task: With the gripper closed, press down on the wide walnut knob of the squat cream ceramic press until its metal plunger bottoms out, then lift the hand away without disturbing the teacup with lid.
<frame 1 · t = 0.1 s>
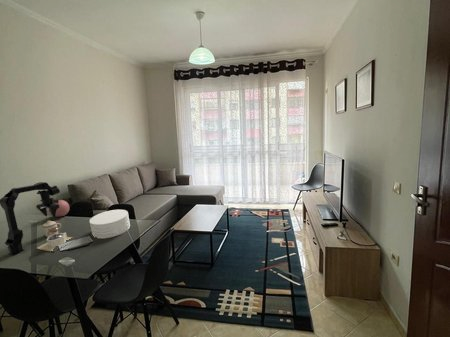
hand: (50, 216, 202), 15 cm above the table, fingers open, 9 cm apart
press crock: (57, 244, 187), on the table
teacup with lid: (54, 233, 205), on the table
balloon: (59, 217, 240), on the table
plate stack: (111, 230, 204), on the table
plunger: (54, 233, 185), point 9 cm above the table, slide at 0.0 cm
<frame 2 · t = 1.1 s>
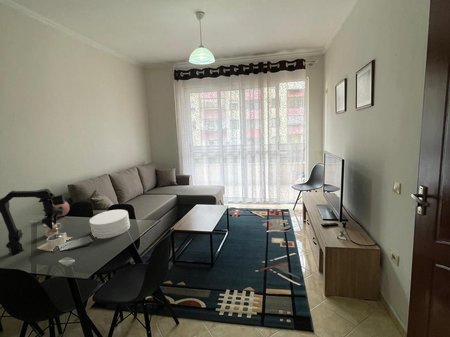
hand: (53, 226, 186), 13 cm above the table, fingers open, 9 cm apart
nothing on the table moved.
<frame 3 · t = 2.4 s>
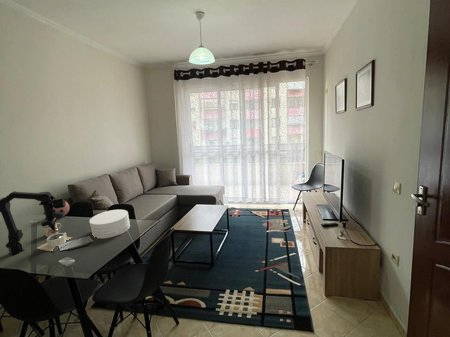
hand: (54, 229, 185), 11 cm above the table, fingers closed, pressing on plunger
plunger: (55, 233, 185), point 8 cm above the table, slide at 0.6 cm, touching gripper
everything else where it was.
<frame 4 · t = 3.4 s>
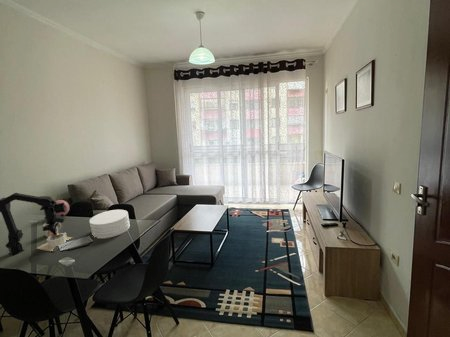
hand: (55, 234, 185), 8 cm above the table, fingers closed, pressing on plunger
plunger: (56, 238, 186), point 5 cm above the table, slide at 4.1 cm, touching gripper, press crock
everything else where it was.
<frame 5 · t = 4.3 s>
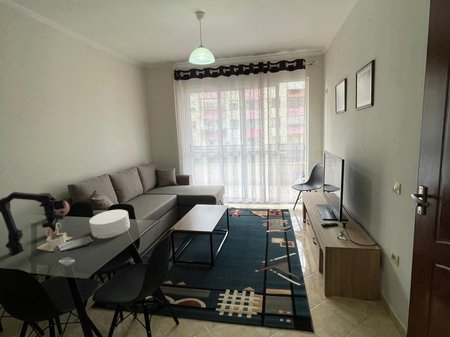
hand: (54, 231, 185), 10 cm above the table, fingers closed
plunger: (56, 238, 186), point 5 cm above the table, slide at 4.1 cm, touching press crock
everything else where it was.
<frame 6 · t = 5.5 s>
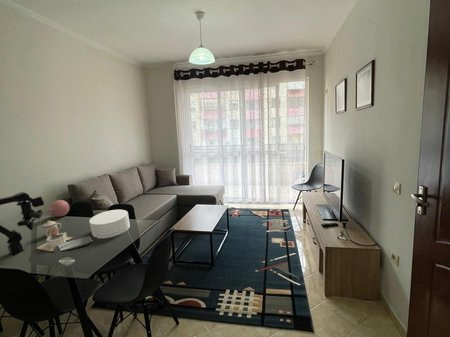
hand: (31, 229, 186), 12 cm above the table, fingers closed
nothing on the table moved.
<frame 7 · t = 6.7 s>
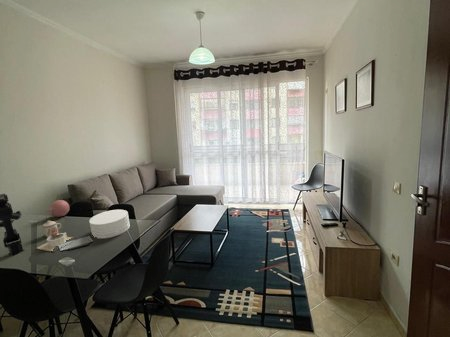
hand: (10, 231, 187), 12 cm above the table, fingers closed
nothing on the table moved.
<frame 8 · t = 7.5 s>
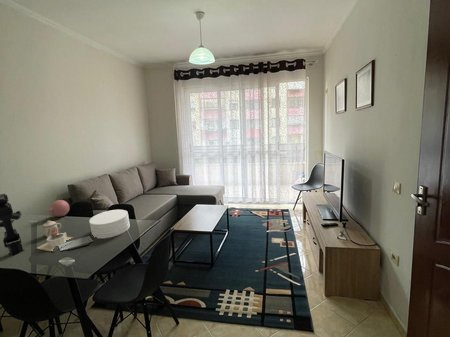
hand: (10, 231, 187), 12 cm above the table, fingers closed
nothing on the table moved.
at the end: plunger slide at 4.1 cm; the gripper is holding nothing; teacup with lid moved 0.2 cm from its start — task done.
